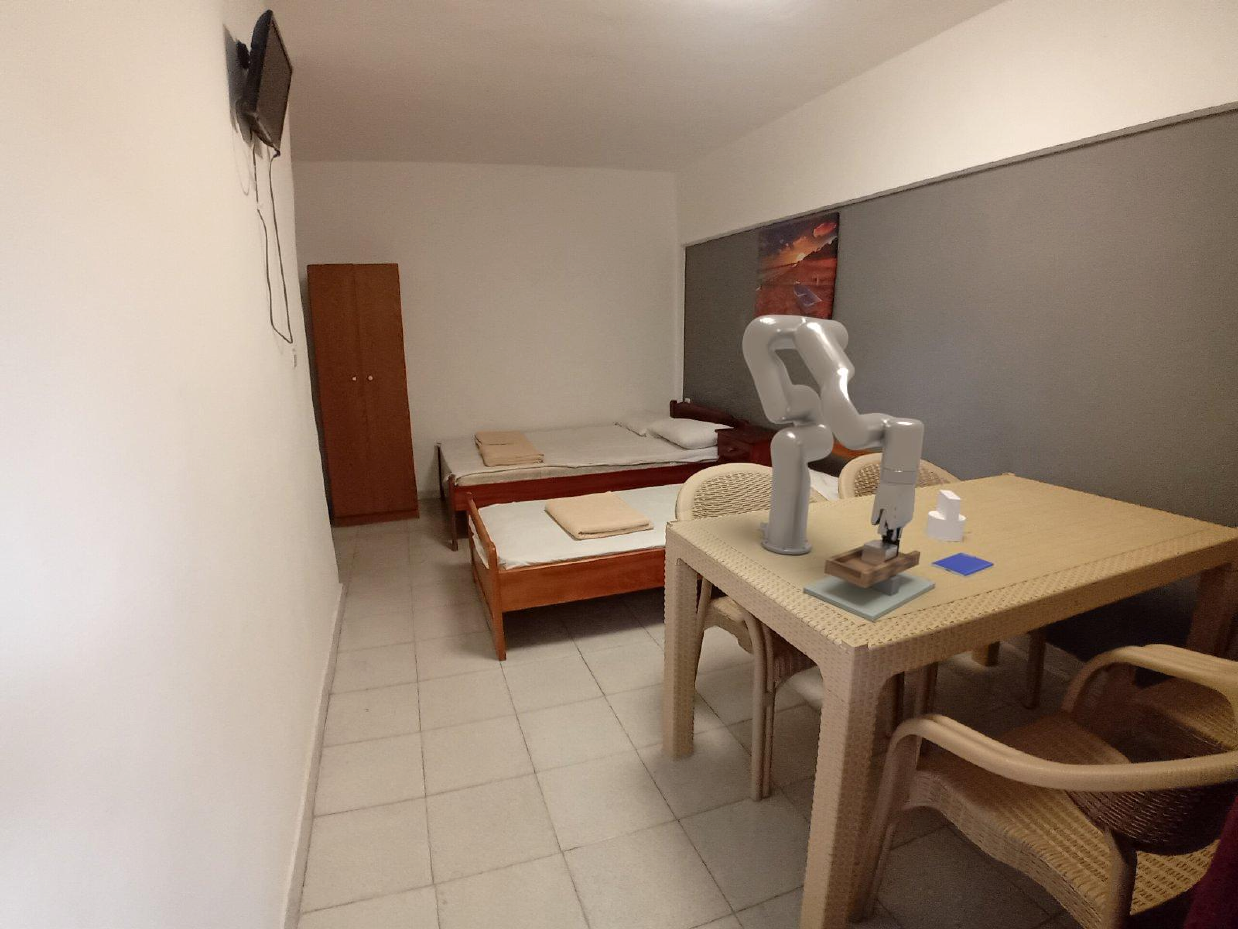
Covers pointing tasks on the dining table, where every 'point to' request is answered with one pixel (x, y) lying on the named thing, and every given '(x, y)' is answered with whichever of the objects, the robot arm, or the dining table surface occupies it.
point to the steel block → (878, 552)
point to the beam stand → (870, 594)
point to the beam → (868, 567)
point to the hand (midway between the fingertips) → (889, 555)
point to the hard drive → (962, 564)
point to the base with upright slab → (946, 518)
